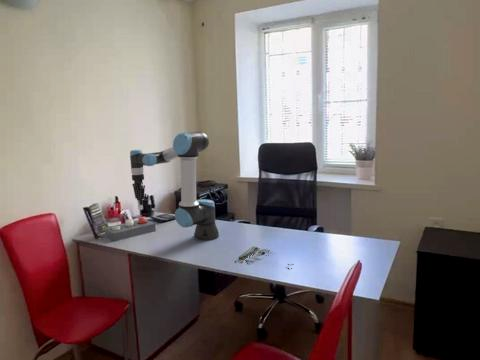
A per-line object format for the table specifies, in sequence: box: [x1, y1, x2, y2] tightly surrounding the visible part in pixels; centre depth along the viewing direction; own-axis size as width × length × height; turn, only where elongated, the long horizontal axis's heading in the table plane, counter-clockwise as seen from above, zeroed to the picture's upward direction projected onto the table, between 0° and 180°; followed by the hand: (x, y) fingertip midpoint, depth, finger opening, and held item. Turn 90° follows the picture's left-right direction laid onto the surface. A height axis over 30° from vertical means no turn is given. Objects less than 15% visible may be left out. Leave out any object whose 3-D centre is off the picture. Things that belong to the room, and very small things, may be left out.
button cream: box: [124, 218, 134, 228], centre depth 242 cm, size 5×5×4 cm
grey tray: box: [103, 219, 157, 242], centre depth 242 cm, size 16×28×5 cm, turn 132°
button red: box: [137, 216, 147, 225], centre depth 248 cm, size 5×5×4 cm
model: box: [234, 245, 272, 264], centre depth 193 cm, size 21×30×2 cm
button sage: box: [112, 225, 120, 231], centre depth 236 cm, size 5×5×4 cm
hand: (140, 209), depth 246 cm, fingers closed
